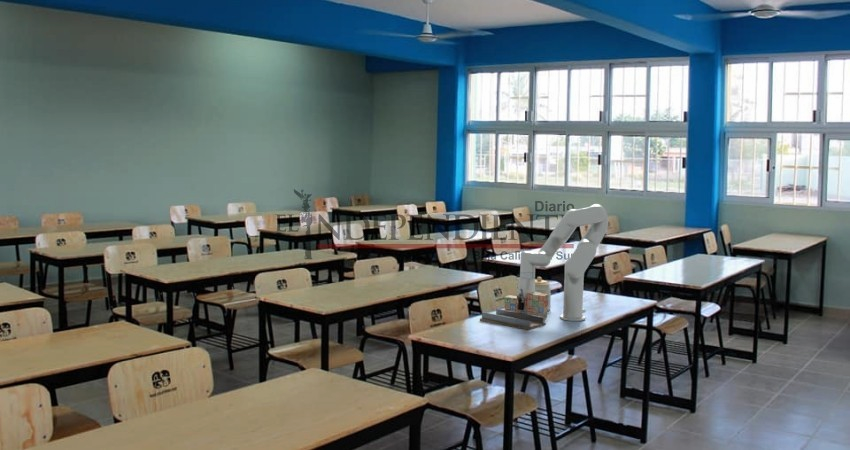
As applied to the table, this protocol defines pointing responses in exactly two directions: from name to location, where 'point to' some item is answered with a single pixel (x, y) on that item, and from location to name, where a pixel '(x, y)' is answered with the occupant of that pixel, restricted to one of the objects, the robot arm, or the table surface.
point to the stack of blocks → (529, 304)
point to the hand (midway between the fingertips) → (526, 308)
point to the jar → (543, 289)
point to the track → (513, 319)
